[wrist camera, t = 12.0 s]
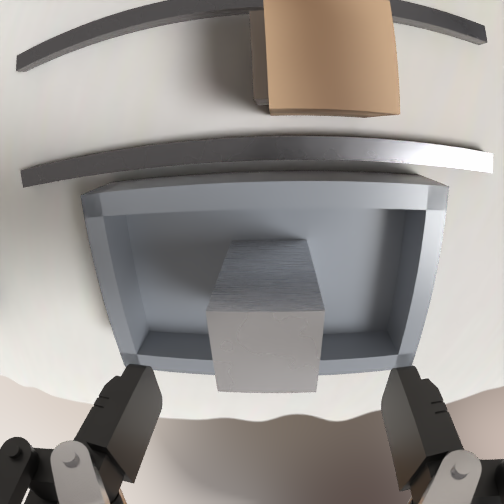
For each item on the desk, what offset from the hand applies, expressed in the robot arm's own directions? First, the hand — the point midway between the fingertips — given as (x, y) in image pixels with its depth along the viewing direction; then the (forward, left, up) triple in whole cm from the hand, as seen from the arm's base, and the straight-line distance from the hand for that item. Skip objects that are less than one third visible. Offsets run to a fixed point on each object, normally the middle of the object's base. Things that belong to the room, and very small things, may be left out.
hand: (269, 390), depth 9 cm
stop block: (0, 0, -9) cm, 9 cm away
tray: (0, 0, -10) cm, 10 cm away
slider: (-3, -11, -10) cm, 15 cm away
